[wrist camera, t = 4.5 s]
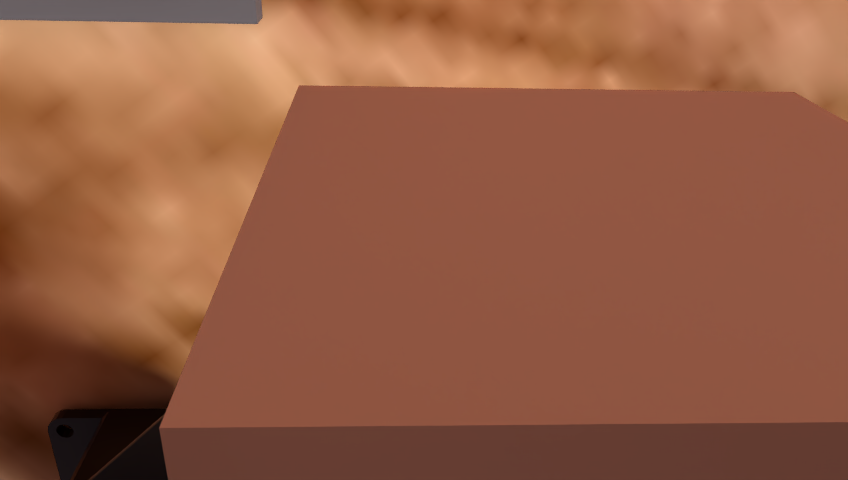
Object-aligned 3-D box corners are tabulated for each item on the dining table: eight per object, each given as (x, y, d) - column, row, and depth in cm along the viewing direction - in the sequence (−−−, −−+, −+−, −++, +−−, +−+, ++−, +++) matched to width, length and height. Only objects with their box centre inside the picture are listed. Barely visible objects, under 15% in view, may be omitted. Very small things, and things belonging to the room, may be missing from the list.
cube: (700, 464, 12) (959, 964, 6) (318, 468, 11) (257, 996, 6) (794, 92, 9) (1376, 417, 4) (298, 86, 9) (157, 428, 3)
